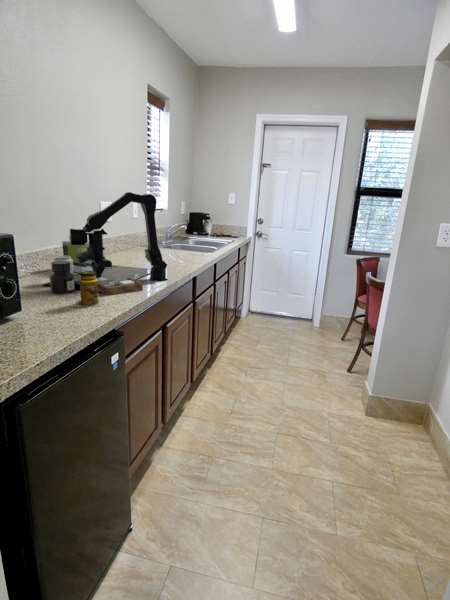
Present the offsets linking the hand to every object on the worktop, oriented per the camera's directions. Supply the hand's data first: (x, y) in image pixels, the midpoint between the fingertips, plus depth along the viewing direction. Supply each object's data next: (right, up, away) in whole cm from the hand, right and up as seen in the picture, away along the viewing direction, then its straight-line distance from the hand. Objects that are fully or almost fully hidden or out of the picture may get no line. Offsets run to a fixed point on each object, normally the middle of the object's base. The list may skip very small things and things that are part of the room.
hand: (97, 279), depth 156 cm
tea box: (-17, +6, +24) cm, 30 cm away
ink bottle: (-9, -6, -14) cm, 17 cm away
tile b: (+2, -3, -2) cm, 4 cm away
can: (-14, -2, -1) cm, 14 cm away
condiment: (+6, -11, -27) cm, 30 cm away
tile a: (+14, -4, -4) cm, 15 cm away
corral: (+11, -4, -7) cm, 14 cm away
